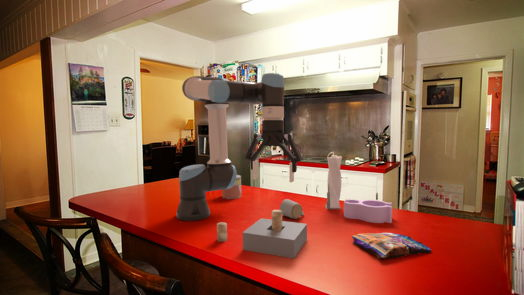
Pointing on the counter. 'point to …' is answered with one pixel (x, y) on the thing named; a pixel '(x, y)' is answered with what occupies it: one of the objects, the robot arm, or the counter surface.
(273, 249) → the hole block
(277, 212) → the long pin
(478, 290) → the counter surface
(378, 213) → the clip
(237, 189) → the canned food
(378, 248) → the food package
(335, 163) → the skyscraper
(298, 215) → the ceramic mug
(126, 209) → the counter surface
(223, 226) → the short pin
